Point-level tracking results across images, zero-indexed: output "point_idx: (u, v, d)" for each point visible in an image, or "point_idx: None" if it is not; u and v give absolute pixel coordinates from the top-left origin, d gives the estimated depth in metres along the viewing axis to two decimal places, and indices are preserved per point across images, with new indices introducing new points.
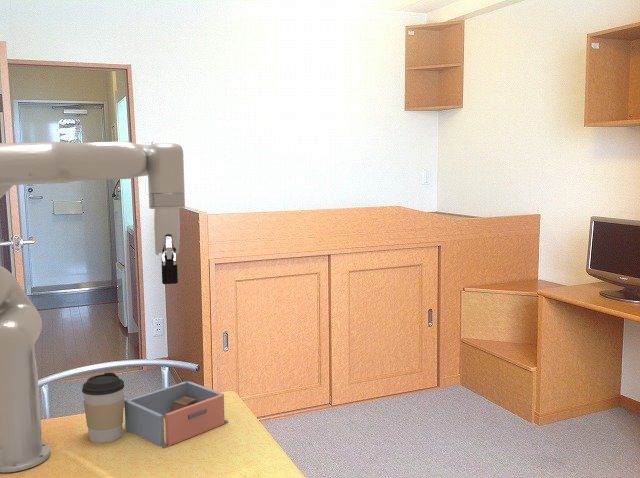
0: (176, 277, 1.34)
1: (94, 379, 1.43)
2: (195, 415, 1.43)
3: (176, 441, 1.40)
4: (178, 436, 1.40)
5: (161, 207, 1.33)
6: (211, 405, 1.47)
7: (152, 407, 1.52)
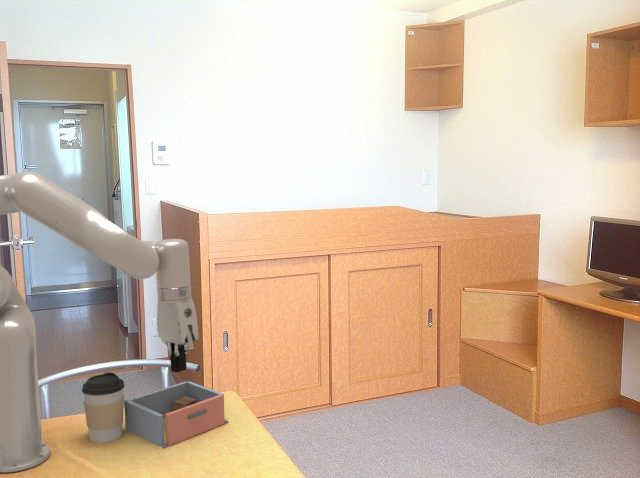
0: None
1: (94, 379, 1.43)
2: (195, 415, 1.43)
3: (176, 441, 1.40)
4: (178, 436, 1.40)
5: None
6: (211, 405, 1.47)
7: (152, 407, 1.52)
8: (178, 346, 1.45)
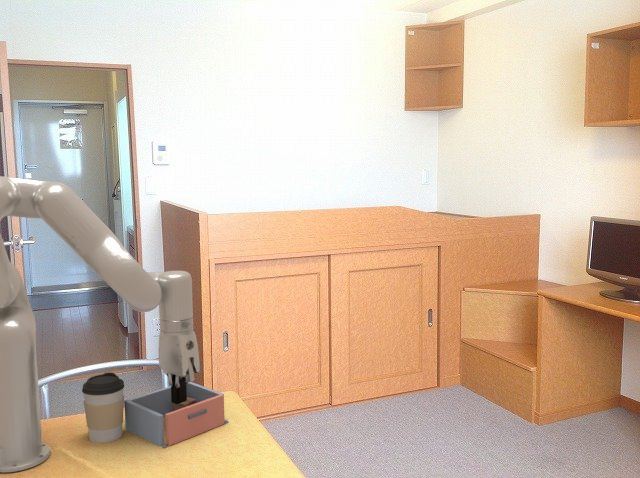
0: None
1: (94, 379, 1.43)
2: (195, 415, 1.43)
3: (176, 441, 1.40)
4: (178, 436, 1.40)
5: None
6: (211, 405, 1.47)
7: (152, 407, 1.52)
8: (179, 378, 1.45)
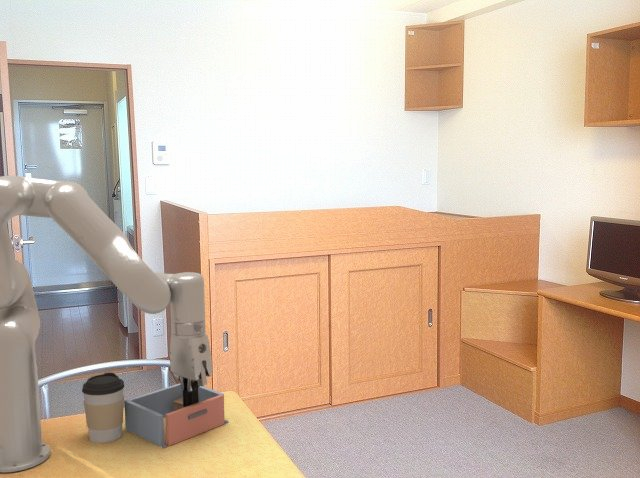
0: None
1: (94, 379, 1.43)
2: (195, 415, 1.43)
3: (176, 441, 1.40)
4: (178, 436, 1.40)
5: None
6: (211, 405, 1.47)
7: (152, 407, 1.52)
8: (191, 382, 1.42)
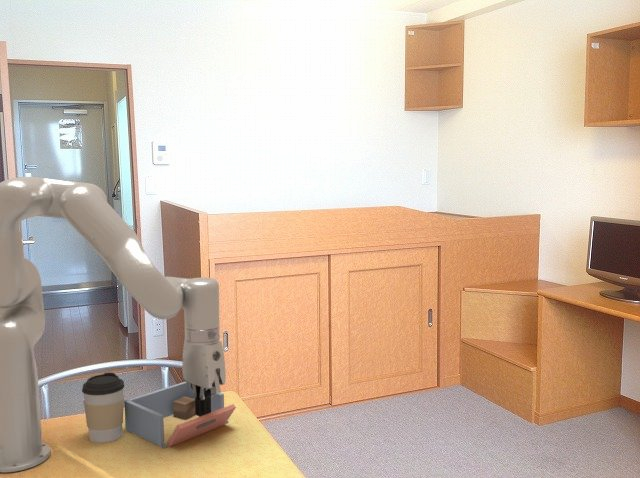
0: None
1: (94, 379, 1.43)
2: (203, 425, 1.41)
3: (177, 443, 1.40)
4: (180, 440, 1.40)
5: None
6: (221, 415, 1.45)
7: (152, 407, 1.52)
8: (204, 390, 1.39)
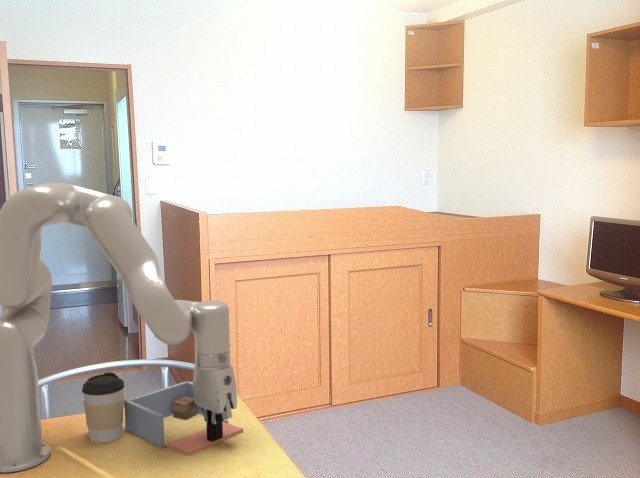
0: None
1: (94, 379, 1.43)
2: None
3: None
4: None
5: None
6: None
7: (152, 407, 1.52)
8: (215, 414, 1.37)
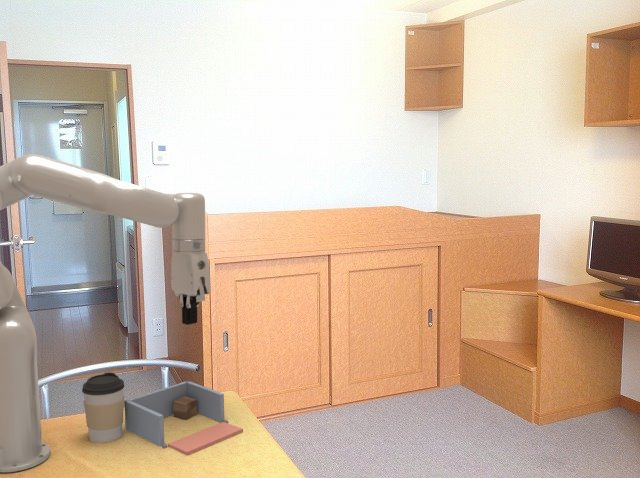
0: None
1: (94, 379, 1.43)
2: None
3: None
4: None
5: None
6: None
7: (152, 407, 1.52)
8: (190, 298, 1.47)
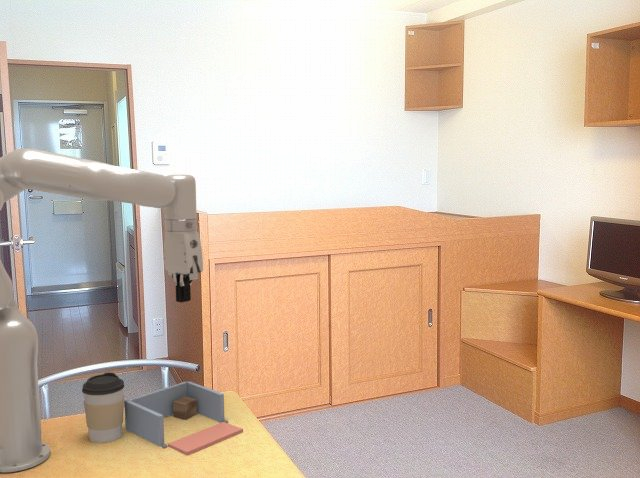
0: None
1: (94, 379, 1.43)
2: None
3: None
4: None
5: None
6: None
7: (152, 407, 1.52)
8: (183, 276, 1.52)
